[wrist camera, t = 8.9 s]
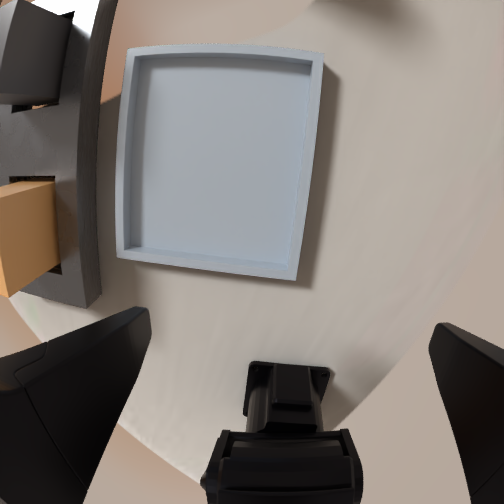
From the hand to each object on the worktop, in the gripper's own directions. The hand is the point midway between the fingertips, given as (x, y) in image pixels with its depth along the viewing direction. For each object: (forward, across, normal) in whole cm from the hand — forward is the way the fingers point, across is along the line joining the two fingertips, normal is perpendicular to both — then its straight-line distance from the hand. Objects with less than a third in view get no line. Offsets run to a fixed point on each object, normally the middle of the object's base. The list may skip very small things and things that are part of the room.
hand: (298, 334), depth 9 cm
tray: (+12, +5, -4) cm, 14 cm away
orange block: (+12, +18, 0) cm, 22 cm away
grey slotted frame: (+12, +18, -6) cm, 22 cm away
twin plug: (+12, +17, -12) cm, 24 cm away
